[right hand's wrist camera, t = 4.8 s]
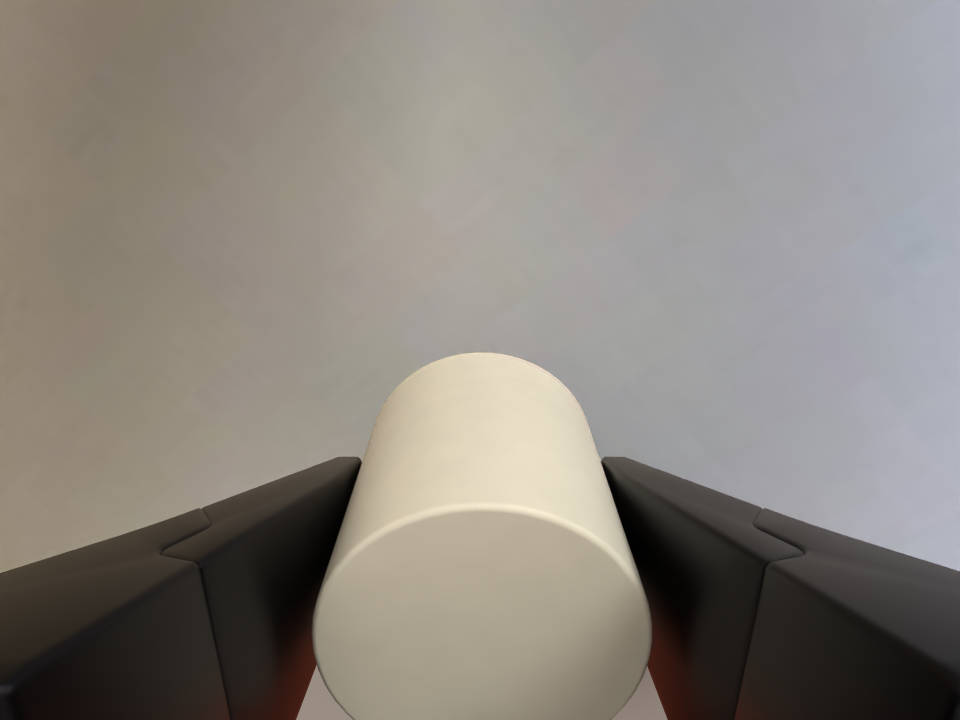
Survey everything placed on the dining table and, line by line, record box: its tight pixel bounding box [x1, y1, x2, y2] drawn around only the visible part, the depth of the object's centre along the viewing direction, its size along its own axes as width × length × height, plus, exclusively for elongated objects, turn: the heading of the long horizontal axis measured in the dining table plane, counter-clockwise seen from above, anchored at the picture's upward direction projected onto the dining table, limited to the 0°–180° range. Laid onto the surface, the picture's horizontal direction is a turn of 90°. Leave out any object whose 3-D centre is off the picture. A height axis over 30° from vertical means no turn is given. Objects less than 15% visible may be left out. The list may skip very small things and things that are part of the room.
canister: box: [312, 352, 652, 720], centre depth 10 cm, size 4×4×5 cm
